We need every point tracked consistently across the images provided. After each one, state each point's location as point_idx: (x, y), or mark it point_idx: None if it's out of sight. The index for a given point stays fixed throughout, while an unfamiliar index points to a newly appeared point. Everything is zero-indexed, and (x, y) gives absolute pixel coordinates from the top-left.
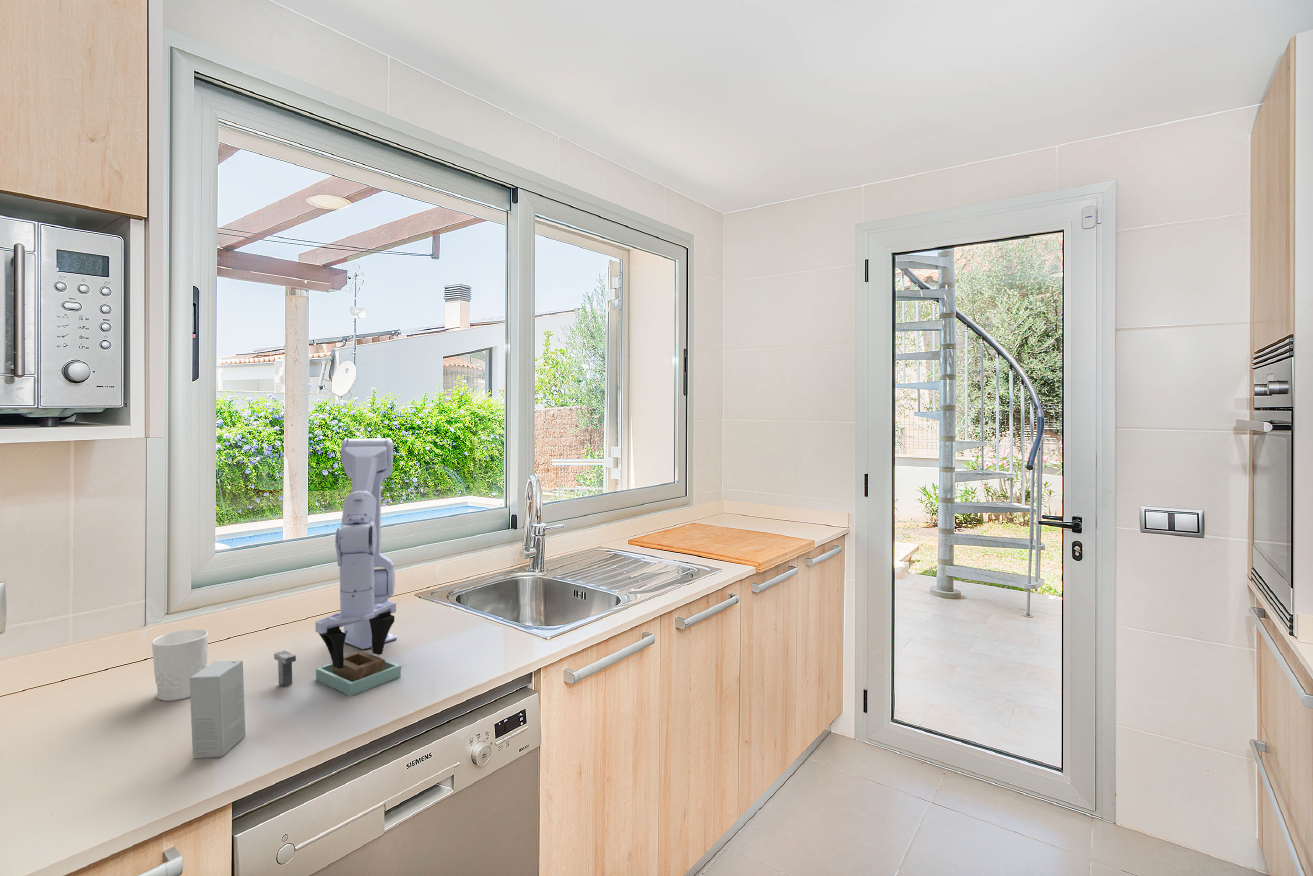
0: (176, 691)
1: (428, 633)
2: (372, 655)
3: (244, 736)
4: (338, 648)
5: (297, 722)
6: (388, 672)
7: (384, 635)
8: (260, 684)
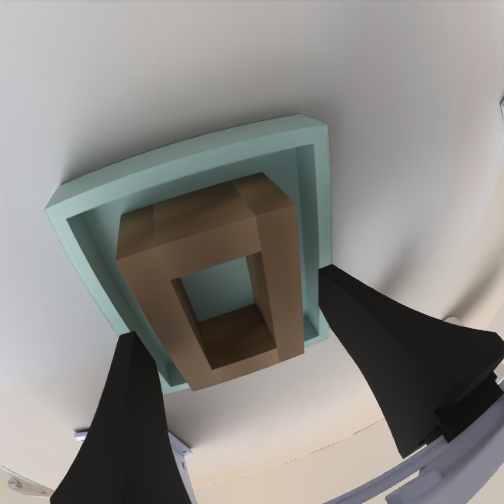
0: (460, 324)
1: (9, 424)
2: (164, 337)
3: (501, 103)
4: (416, 317)
5: (450, 70)
6: (111, 177)
7: (108, 420)
8: None
